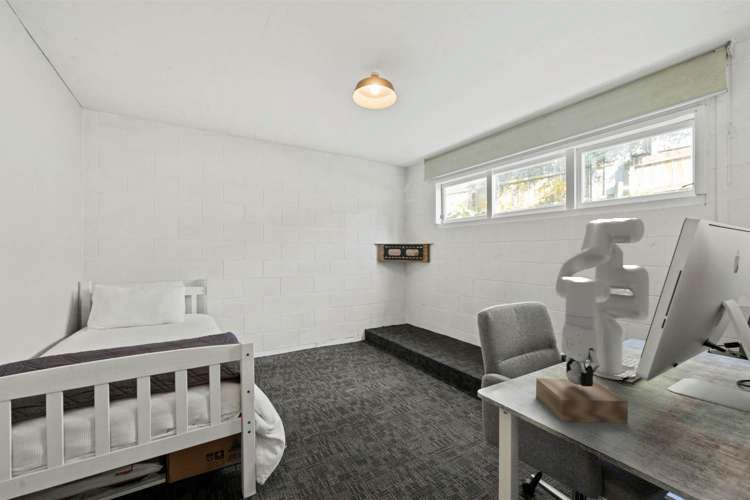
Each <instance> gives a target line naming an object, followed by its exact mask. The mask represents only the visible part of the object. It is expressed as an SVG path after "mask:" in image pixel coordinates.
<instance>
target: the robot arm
mask: <svg viewBox="0 0 750 500" xmlns="http://www.w3.org/2000/svg"><path fill="white" fill-rule="evenodd" d="M584 233H585V234H584V237H583V241H582V244H581V245H582V246H581V250H580V251H579V252H578V253H576V254H574V255H573V256H571V257H570V258H569V259H567V260H566V261H565V262H564V263H563V264H562V266H561V267H560V269H559V272H558V275H557V279H556V284H555V291H556V294H557V295H558V296H559V297H560V298H561V299H564V300H565V314H564V315H565V318H564V320H565V322H564V324H563V328H562V335H561V337H562V338H561V352H562V353H563V355H564V357H565V362H566V364H565V365H566V366H565V367H566V368H565V369H566V370H565V371H566V375H565V376H567V372H568V371H570V370H572V369H571V366H570V365H571V364H572V363H573V362H574V361H577V362H580V363H581V367H582V371H583V372H581V382H580V384H581V386H593V380H594V375H595V376H597V377H600V378H604V379H608V380H616V381H623V379H622V378H621V377H617V376H614V375H619V374H622V373H626V372H627V371H629V372H633V371H636V367H635V366H634V365H629V364H628V365H627V364H625V363H623V361H624V360H623V358H624V357H623V355H624V354H623V349H624V348H623V346H624V345H623V344H624V343H623V342H624V330H623V328H622V326H621V324H620V323H619V322H618V321H617V320H616V319H620V320H627V321H633V322H644V321H646V320H647V319H648V317H649V309H650V308H649V307H650V278H649V277H650V276H649V272H648V271H647V269H646V268H645V267H643V266H640V265H631V264H630V265H626V264H624V251H623V250H622V248H621V246H619V245H618V244H635V243H636V244H637V243H638V242H640V241H642V239H643V237H644V235H645V224H644V222H643V220H642V219H641V218H638V217H637V218H635V217H634V218H633V217H632V218H612V219H611V218H610V219H609V218H608V219H605V218H604V219H597V220H591V221H590V222H587V223H586V226H585V232H584ZM592 268H593V269H594V268H595V275H594V276H595V277H593V278H592V277H584V276H583V277H582V276H581V277H580V276H574V275H576V274H577V273H579V272H582V271H585V270H588V269H592ZM611 290H616V291H617V290H618V291H628V292H631V293H632V294H629V293H628V294H626V293H619V292H612V291H611ZM586 364H587V366H586Z"/></svg>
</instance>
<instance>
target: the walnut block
mask: <svg viewBox="0 0 750 500" xmlns="http://www.w3.org/2000/svg"><path fill="white" fill-rule="evenodd" d="M535 383H536V385H535V389H536V390H535V398H537V399H538V400H539V402H540V403H542V404H543V405H544V406H545V407H546V408H548V409H549V411H551V412H552V413H553V414H554V415H555V416H556V417H557V419H559V420H560V421H561V422H576V423H577V422H578V423H579V422H585V423H586V422H587V423H613V424H615V423H616V424H617V423H618V424H619V423H620V424H621V423H622V424H628V423H629V419H628V418H629V401H628V400H627V399H625V398H624V397H622V396H620V395H619V394H617V393H615V392H614V391H612V390H610V389H609V388H607V387H605V386H604V385H603V384H600V383H598V381H596V380H594V379H593V386H581V385H577V384H574V383H572V382H570V381H569V380H568V378H545V377H544V378H540V377H539V378H536V381H535Z"/></svg>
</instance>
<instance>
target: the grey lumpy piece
mask: <svg viewBox="0 0 750 500" xmlns="http://www.w3.org/2000/svg"><path fill="white" fill-rule="evenodd" d="M570 366H571V369H572V370H570V371H568V372H567V375H566V377H567V378H566V379H568V380H569V381H570V382H572V383H574V384H577V385H581V384H580V382H581V372H583V371H582V367H581V363H580V362H577V361H574V362H573V363H572V364H571V365H570Z"/></svg>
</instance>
